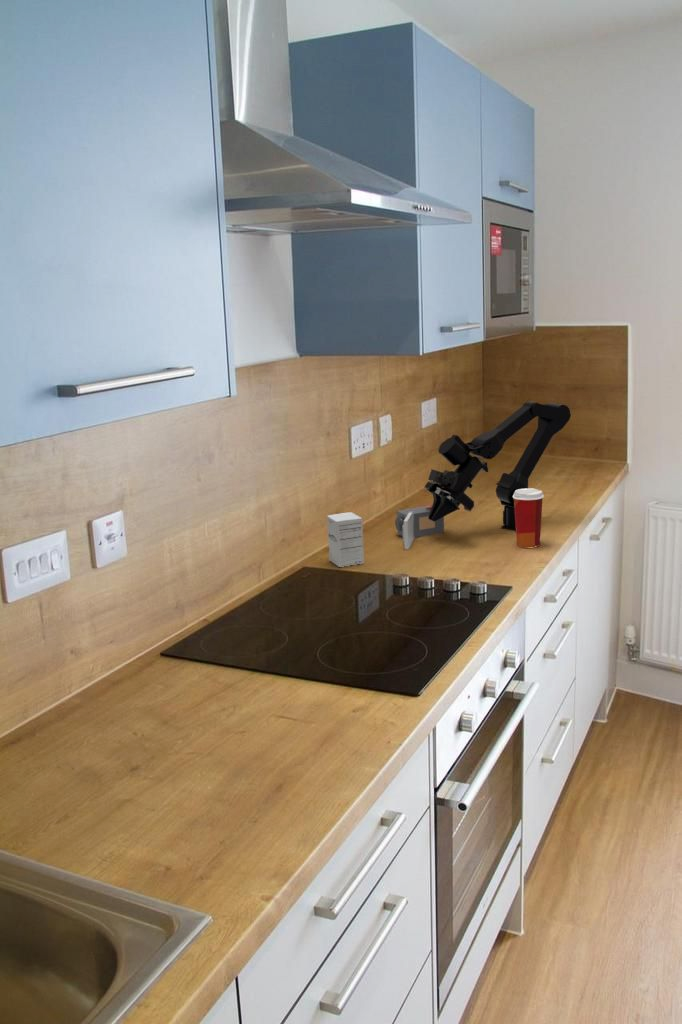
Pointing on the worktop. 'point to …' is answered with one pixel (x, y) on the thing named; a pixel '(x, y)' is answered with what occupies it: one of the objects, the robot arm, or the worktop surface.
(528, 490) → the coffee cup
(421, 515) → the box
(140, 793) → the worktop surface
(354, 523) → the supplement box
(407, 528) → the side door
